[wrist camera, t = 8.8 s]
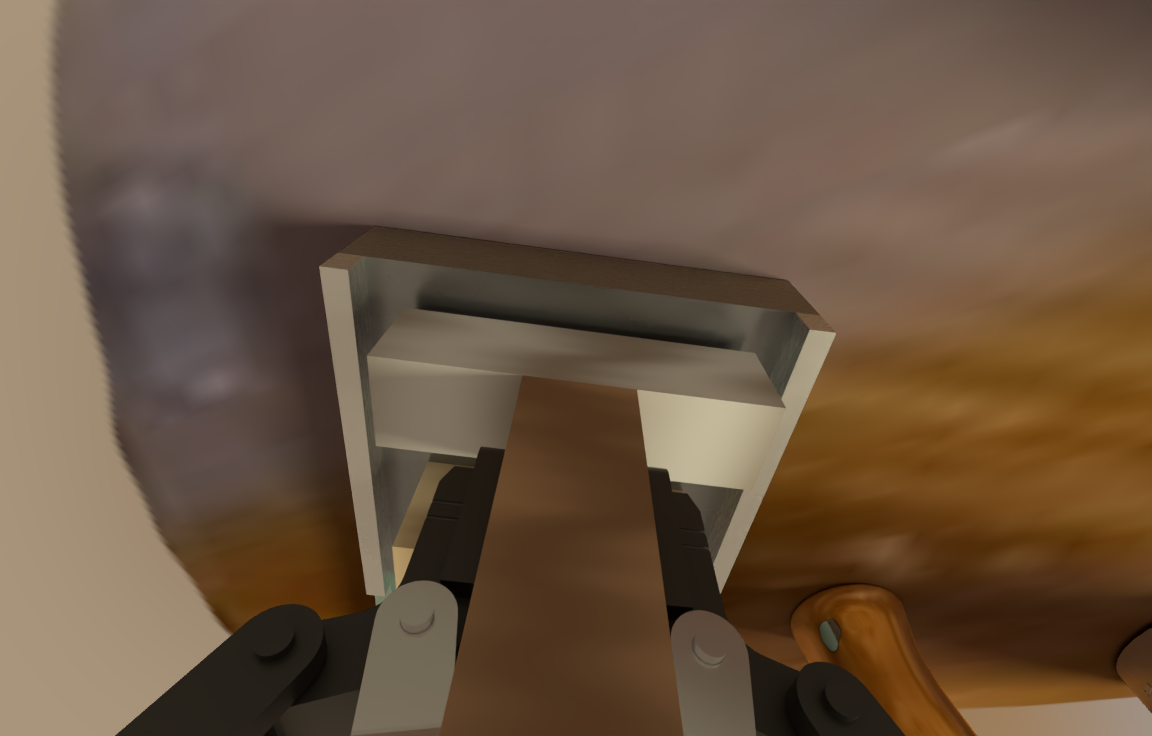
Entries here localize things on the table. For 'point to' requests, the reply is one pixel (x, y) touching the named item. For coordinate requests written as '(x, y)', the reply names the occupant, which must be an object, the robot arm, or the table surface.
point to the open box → (558, 299)
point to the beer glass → (877, 655)
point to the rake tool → (569, 504)
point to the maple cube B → (417, 516)
